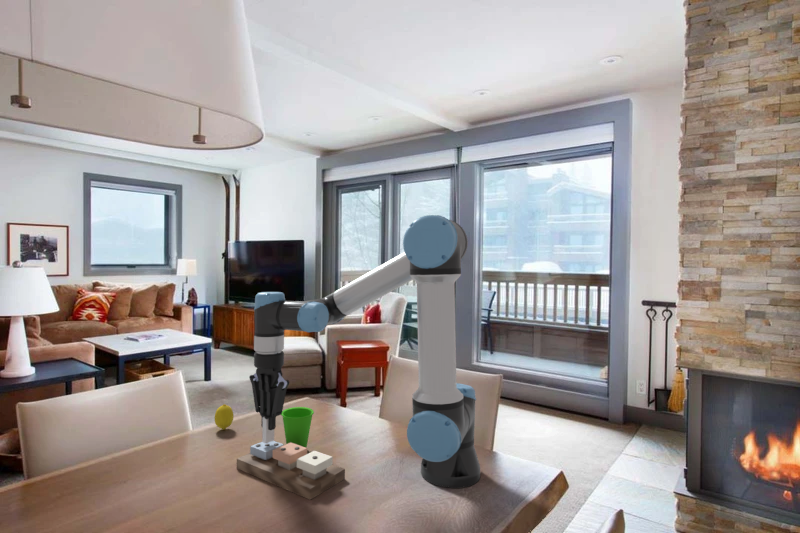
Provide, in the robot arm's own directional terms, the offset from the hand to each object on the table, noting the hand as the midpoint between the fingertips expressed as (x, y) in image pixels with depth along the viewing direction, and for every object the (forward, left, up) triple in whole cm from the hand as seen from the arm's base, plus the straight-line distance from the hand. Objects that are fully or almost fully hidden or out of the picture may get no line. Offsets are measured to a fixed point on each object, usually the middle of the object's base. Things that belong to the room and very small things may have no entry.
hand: (268, 440), depth 119 cm
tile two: (-8, 0, -4) cm, 9 cm away
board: (-8, 0, -6) cm, 10 cm away
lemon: (+30, -8, -7) cm, 31 cm away
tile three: (0, 0, -6) cm, 6 cm away
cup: (0, -10, -7) cm, 12 cm away
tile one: (-17, 0, -5) cm, 17 cm away
